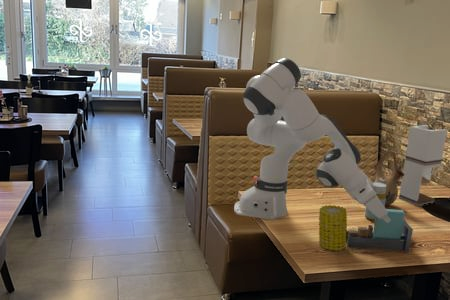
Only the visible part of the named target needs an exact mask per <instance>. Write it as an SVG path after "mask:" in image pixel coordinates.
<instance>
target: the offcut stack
mask: <svg viewBox="0 0 450 300" xmlns="http://www.w3.org/2000/svg"><path fill="white" fill-rule="evenodd" d="M347 231H348V236H360V237H372V232H373V231H374V225H372V224H368V227H367V226H358V227H357V230H355V229H348V230H347ZM357 231H358V232H357ZM347 240H348V237H347Z"/></svg>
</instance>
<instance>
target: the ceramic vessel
mask: <svg viewBox="0 0 450 300" xmlns="http://www.w3.org/2000/svg"><path fill="white" fill-rule="evenodd" d="M389 154H390V155H392V159H393V173H392V175H391V177H387V176H386V175H385V174H384V171H383V165H384V162H385V159H386V157H387V156H388V155H389ZM372 167H373V169H374V172H375V173H376V174H375V180H374V182H380V183H384V184H386V192H385V194H386V200H385V207H388V206H390V205H392V204H394V203H395V202H396V200H397V199H398V196H399V187H398V181H399V180H400V179H402V177H403V176H404V173H403V171H401V170H400V169H399V167H398V161H397V156H396V154H395V153H394V152H393V151H392V150H388V151H385V153H384V154H383V156H382V157H381V159H379V161H377V162H376V163H375V164H373V165H372Z"/></svg>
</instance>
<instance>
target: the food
mask: <svg viewBox="0 0 450 300" xmlns="http://www.w3.org/2000/svg"><path fill="white" fill-rule="evenodd" d="M318 210H319V213H318V215H319V218H318V221H319V223H318V225H319V227H318V235H319V236H318V238H319V239H318V241H319V243H318V244H319V246H320V247H322V248H324V249H326V250H329V251H335V252H337V251H339V252H341V251H342V250H344V249H345V248H346V247H347V242H346V232H347V231H348V230H347V229H348V223H347V218H348V217H347V215H348V214H347V209H346V208H345V207H343V206H339V205H338V206H336V205H331V204H329V205H324V206H323V205H322V206H321V207H320V208H319V209H318Z"/></svg>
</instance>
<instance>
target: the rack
mask: <svg viewBox="0 0 450 300" xmlns="http://www.w3.org/2000/svg"><path fill="white" fill-rule="evenodd" d="M357 232H358V230H357ZM413 233H414V230H413V228H412V226H410V225H409V223H408V222H407V220H406V221H405V220H403V226H402V232H401V238H400V239H387V238H373V232H372V237H360V236H348V230H347V232H346V247H347V248H353V249H367V250H380V251H391V252H393V251H394V252H395V251H396V252H403V254H410V249H411V243H412V237H413ZM347 237H348V240H347Z"/></svg>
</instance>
